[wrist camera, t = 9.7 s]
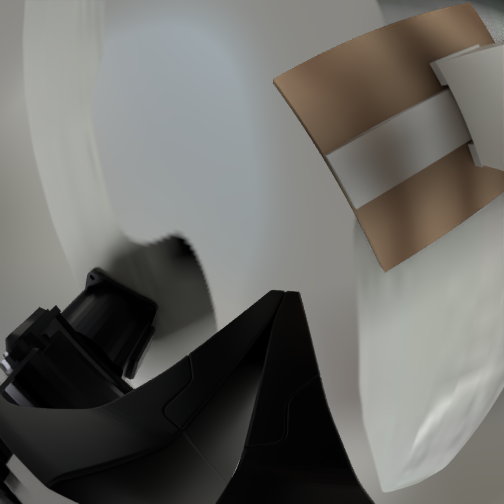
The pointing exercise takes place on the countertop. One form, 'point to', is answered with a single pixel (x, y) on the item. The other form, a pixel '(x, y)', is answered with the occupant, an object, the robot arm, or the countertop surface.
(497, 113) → the block
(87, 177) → the countertop surface
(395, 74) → the rail board
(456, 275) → the countertop surface
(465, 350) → the countertop surface
